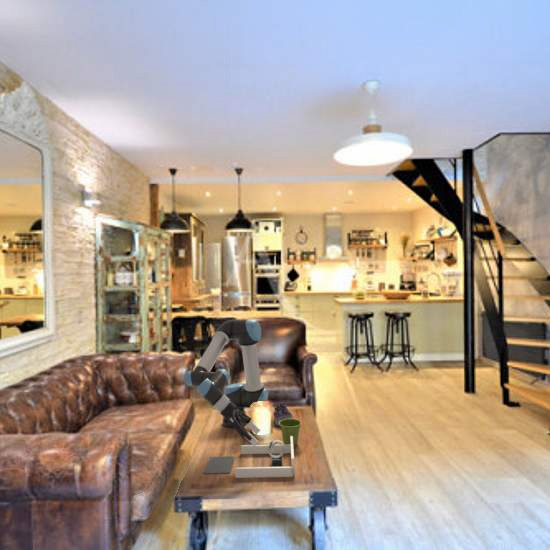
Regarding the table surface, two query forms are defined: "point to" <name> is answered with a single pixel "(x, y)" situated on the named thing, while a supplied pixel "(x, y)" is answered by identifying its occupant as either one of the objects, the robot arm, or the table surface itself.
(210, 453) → the table surface
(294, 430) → the plant pot
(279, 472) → the shelf lane
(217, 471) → the mat
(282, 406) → the geode
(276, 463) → the watch
